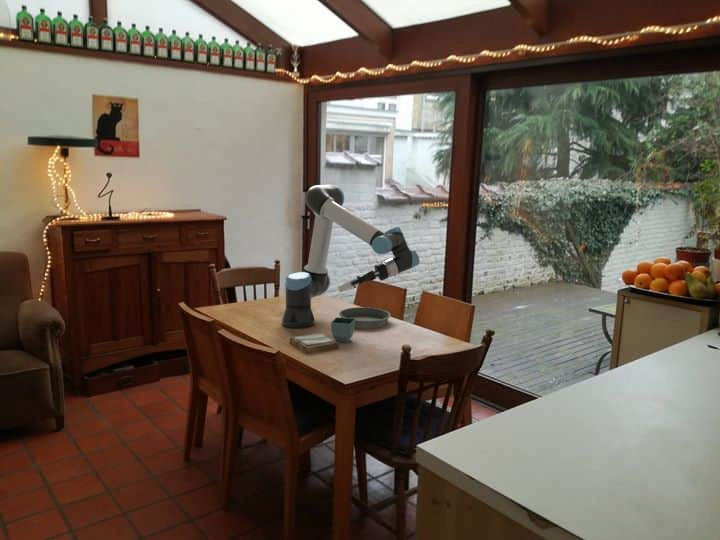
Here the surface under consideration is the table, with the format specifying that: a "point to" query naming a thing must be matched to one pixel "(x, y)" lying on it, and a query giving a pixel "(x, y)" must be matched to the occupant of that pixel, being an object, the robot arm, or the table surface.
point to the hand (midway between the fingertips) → (341, 288)
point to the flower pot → (342, 329)
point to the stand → (314, 342)
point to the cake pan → (366, 316)
